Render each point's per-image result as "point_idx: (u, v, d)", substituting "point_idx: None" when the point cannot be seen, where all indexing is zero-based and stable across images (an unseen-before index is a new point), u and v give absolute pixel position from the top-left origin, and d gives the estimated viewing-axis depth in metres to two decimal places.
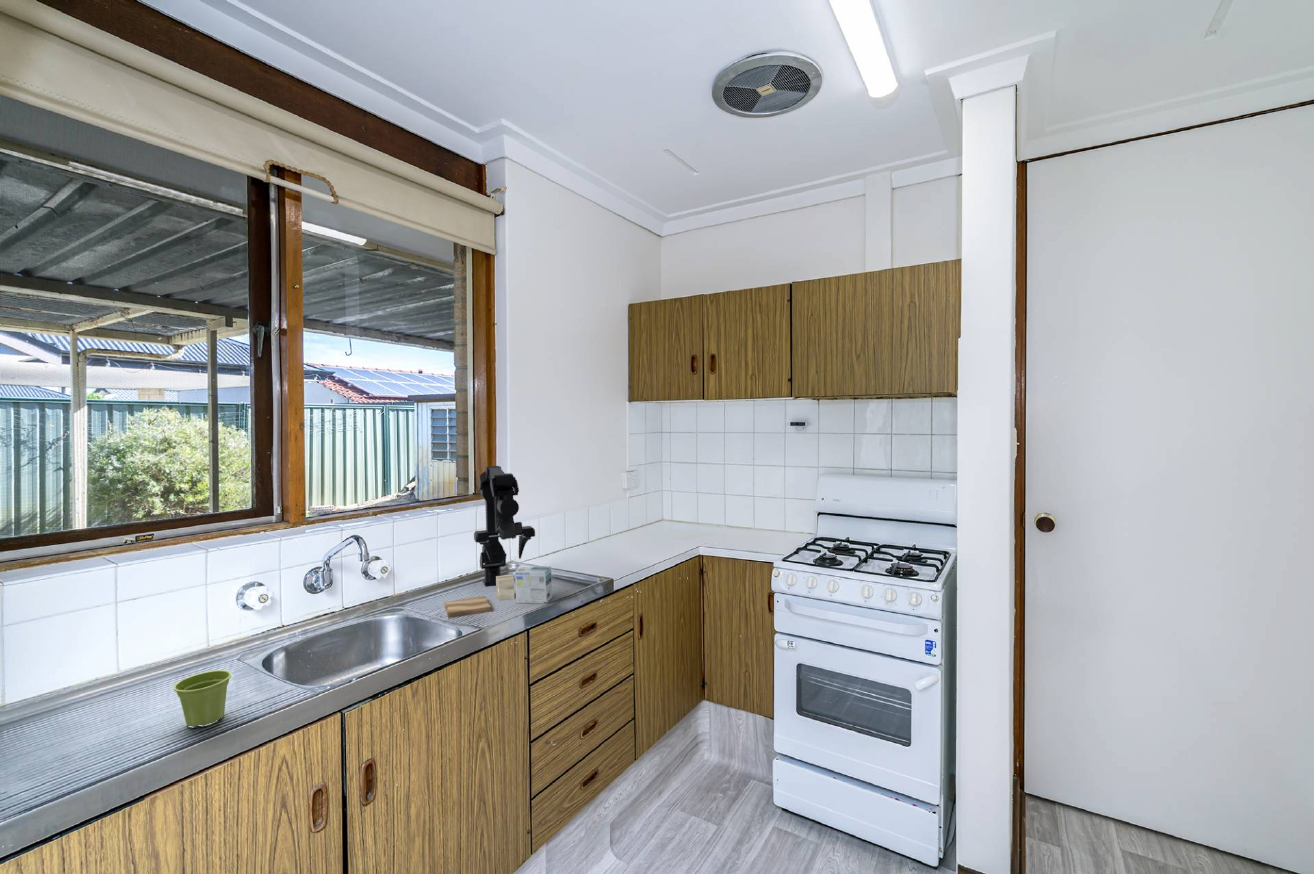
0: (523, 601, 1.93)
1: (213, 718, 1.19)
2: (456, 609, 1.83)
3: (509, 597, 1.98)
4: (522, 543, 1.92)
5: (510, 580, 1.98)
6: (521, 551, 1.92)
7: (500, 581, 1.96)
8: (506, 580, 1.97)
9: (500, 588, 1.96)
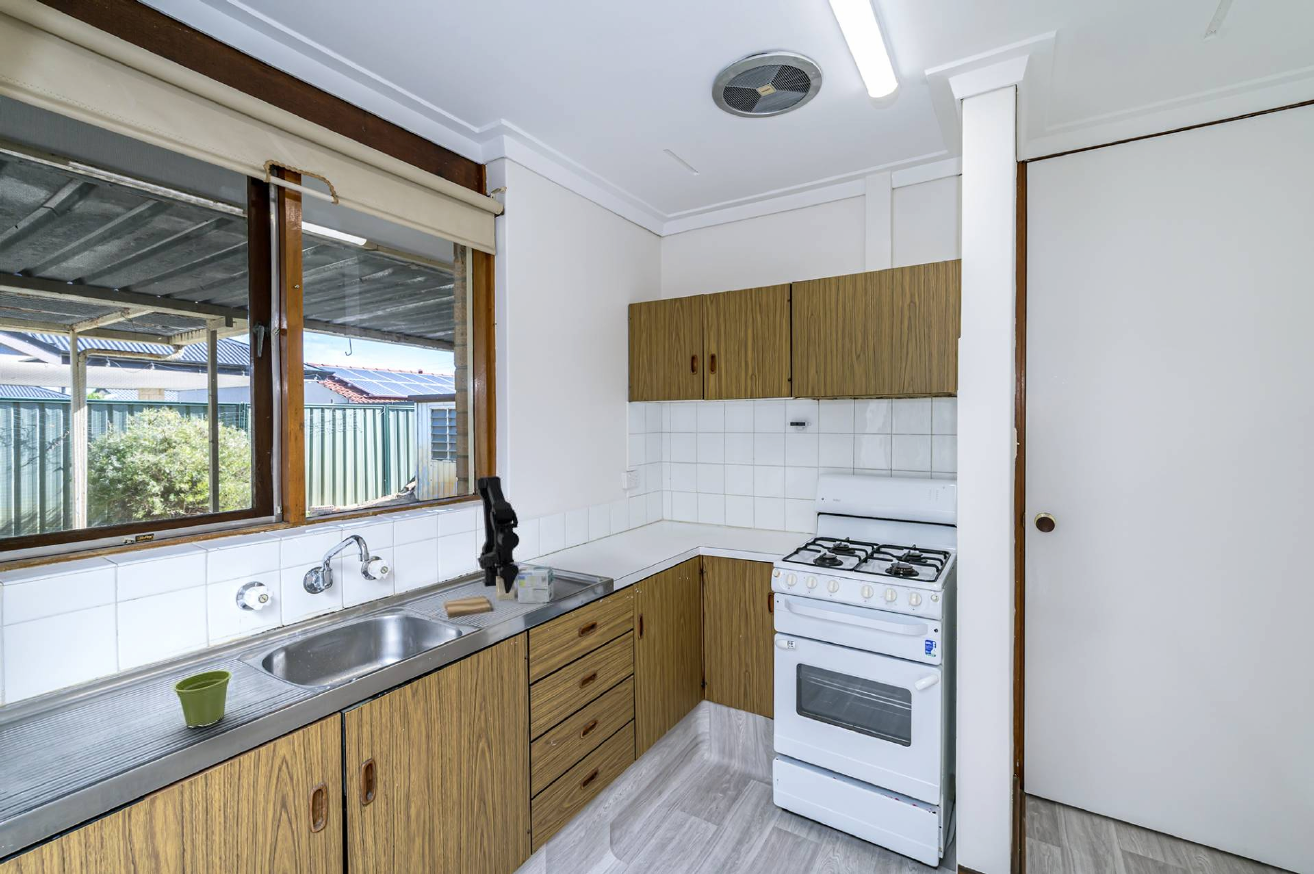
0: (525, 601, 1.93)
1: (213, 718, 1.19)
2: (456, 609, 1.83)
3: (509, 597, 1.98)
4: (502, 578, 1.94)
5: None
6: (504, 586, 1.95)
7: (500, 581, 1.96)
8: None
9: (500, 588, 1.96)
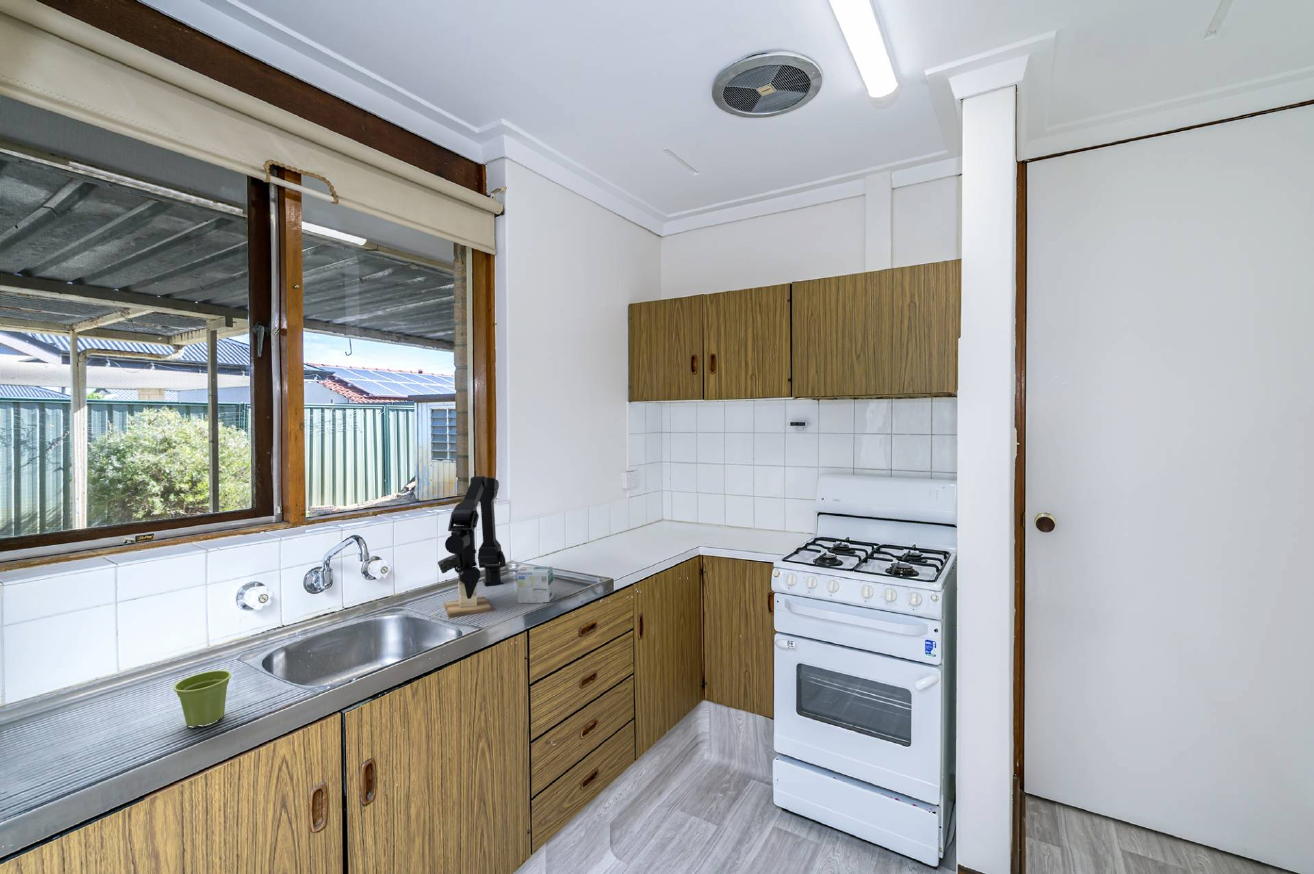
0: (525, 601, 1.93)
1: (213, 718, 1.19)
2: (457, 610, 1.83)
3: (471, 604, 1.87)
4: (463, 583, 1.83)
5: None
6: None
7: (461, 587, 1.86)
8: None
9: (461, 594, 1.86)
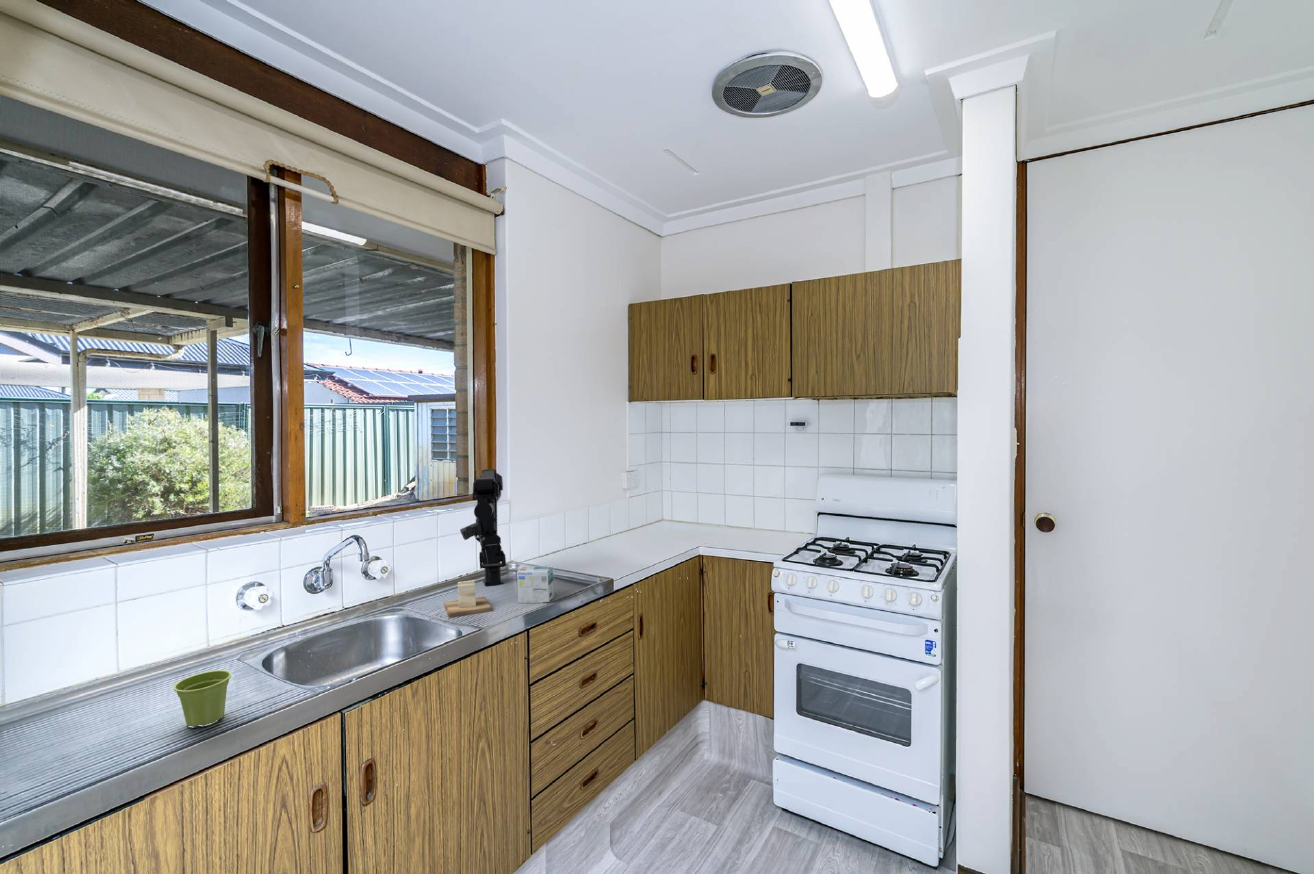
0: (525, 601, 1.93)
1: (213, 718, 1.19)
2: (456, 610, 1.83)
3: (470, 604, 1.87)
4: (484, 549, 1.94)
5: (471, 586, 1.87)
6: (486, 557, 1.95)
7: (460, 587, 1.85)
8: (467, 586, 1.86)
9: (460, 595, 1.85)
